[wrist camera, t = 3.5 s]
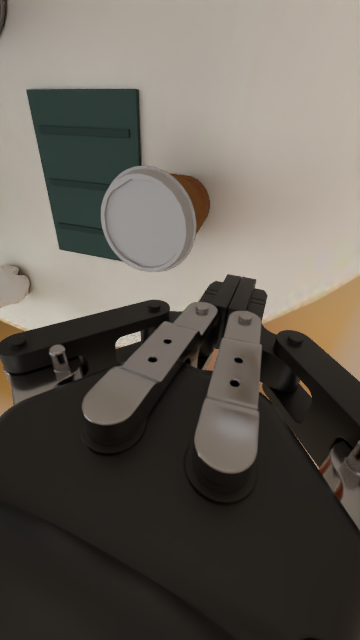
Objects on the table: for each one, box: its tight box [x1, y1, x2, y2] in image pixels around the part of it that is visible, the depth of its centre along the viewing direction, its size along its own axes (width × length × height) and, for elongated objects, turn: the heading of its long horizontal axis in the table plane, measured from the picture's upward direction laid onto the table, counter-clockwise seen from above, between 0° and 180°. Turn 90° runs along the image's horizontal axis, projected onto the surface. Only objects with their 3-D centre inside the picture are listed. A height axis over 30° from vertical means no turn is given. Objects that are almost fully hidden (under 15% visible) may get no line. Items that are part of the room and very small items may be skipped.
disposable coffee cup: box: [101, 166, 210, 272], centre depth 29 cm, size 10×10×12 cm
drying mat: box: [26, 89, 141, 261], centre depth 37 cm, size 15×20×1 cm
